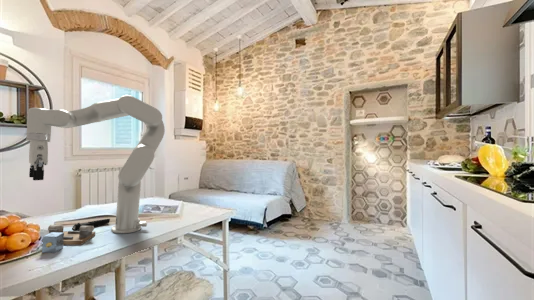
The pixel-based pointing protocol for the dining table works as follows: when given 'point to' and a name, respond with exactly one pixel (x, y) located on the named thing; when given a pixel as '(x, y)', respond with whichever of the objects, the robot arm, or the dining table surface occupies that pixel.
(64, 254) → the dining table surface
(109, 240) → the dining table surface
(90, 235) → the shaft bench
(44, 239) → the blue grey block
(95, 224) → the electric trimmer
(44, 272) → the dining table surface
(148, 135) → the robot arm
